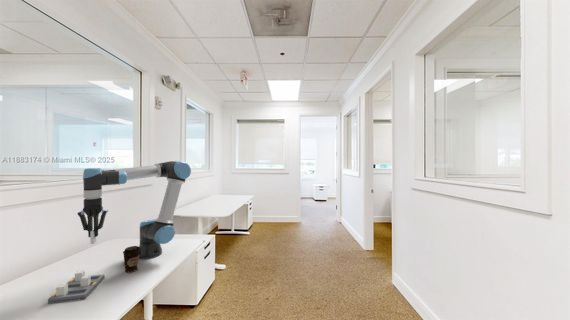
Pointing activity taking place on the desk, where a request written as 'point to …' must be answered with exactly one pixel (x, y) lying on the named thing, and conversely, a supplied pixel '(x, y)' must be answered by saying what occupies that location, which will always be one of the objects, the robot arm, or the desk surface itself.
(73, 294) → the switch board
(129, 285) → the desk surface
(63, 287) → the tab
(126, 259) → the coffee cup
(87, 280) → the tab
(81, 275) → the tab
